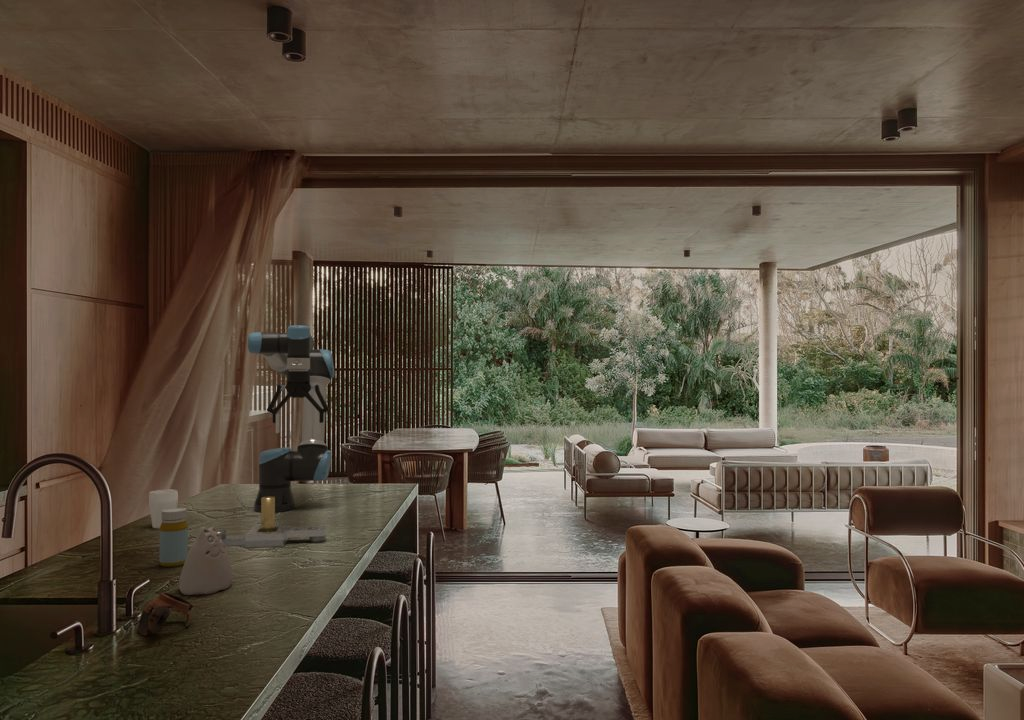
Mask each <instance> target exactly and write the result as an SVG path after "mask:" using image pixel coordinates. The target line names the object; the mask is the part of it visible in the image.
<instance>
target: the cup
mask: <svg viewBox="0 0 1024 720" xmlns="http://www.w3.org/2000/svg"><path fill="white" fill-rule="evenodd" d="M148 494H149V496H148V505H149V512H150V520H151V526H152V528H153V529H159V530H160V526H161V524H162V510H164V509H169V508H178V503H179V502H178V501H179V492H178V489H172V488H171V489H170V488H168V489H167V488H165V489H156V490H152V491H149V493H148Z"/></svg>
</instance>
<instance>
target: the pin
mask: <svg viewBox="0 0 1024 720" xmlns="http://www.w3.org/2000/svg"><path fill="white" fill-rule="evenodd" d="M260 515H261V517H260V520H261V521H260V526H261V532H275V526H276V524H275V523H276V522H275V521H276V520H275V519H276V516H275V515H276V512H275V497H272V496H269V497H262V498H261V512H260Z"/></svg>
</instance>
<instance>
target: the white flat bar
mask: <svg viewBox="0 0 1024 720" xmlns="http://www.w3.org/2000/svg"><path fill="white" fill-rule="evenodd" d="M327 529H328V528H327V526H326V525H324V526H322V525H321V526H320V525H317V526H290V524H288V525H284V524H282V525H275V532H261V525H253V527H251V528H250V529H249V530H248V531H247V532H246V533H245V534H241V535H239V534H235V535H233V534H232V535H227V530H226V529H221V528H220V529H215V530H216V531H217V532H218V534H219V535H220V537H221V539H222V541H223V543H224V546H225V547H232V546H233V547H235V546H244V547H245V548H246V549H248V548H275V547H278V548H279V547H284V546H285V545H286V543H287V542H288V540H289V539H290V538H304V537H305V538H308V541H309V543H312V544H319V543H324V542H326V539H327V538H326V537H327V532H328V531H327Z"/></svg>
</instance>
